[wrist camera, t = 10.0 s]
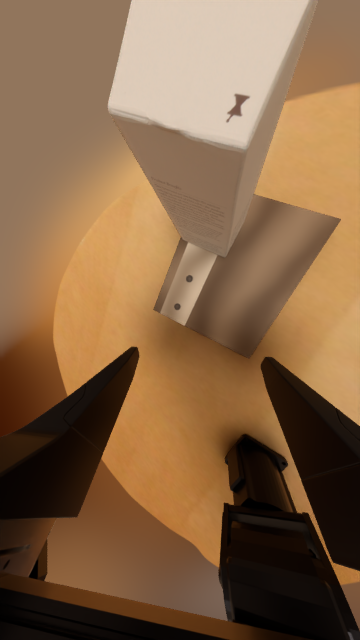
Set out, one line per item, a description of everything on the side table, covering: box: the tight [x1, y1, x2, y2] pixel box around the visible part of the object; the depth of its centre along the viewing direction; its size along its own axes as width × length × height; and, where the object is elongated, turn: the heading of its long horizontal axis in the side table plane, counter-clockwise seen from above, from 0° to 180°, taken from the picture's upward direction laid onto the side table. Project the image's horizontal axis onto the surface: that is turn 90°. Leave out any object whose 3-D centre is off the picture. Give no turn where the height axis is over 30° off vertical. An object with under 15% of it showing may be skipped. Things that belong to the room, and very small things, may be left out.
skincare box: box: [108, 0, 318, 257], centre depth 10 cm, size 6×4×12 cm
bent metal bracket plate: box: [153, 194, 341, 358], centre depth 16 cm, size 14×16×2 cm
